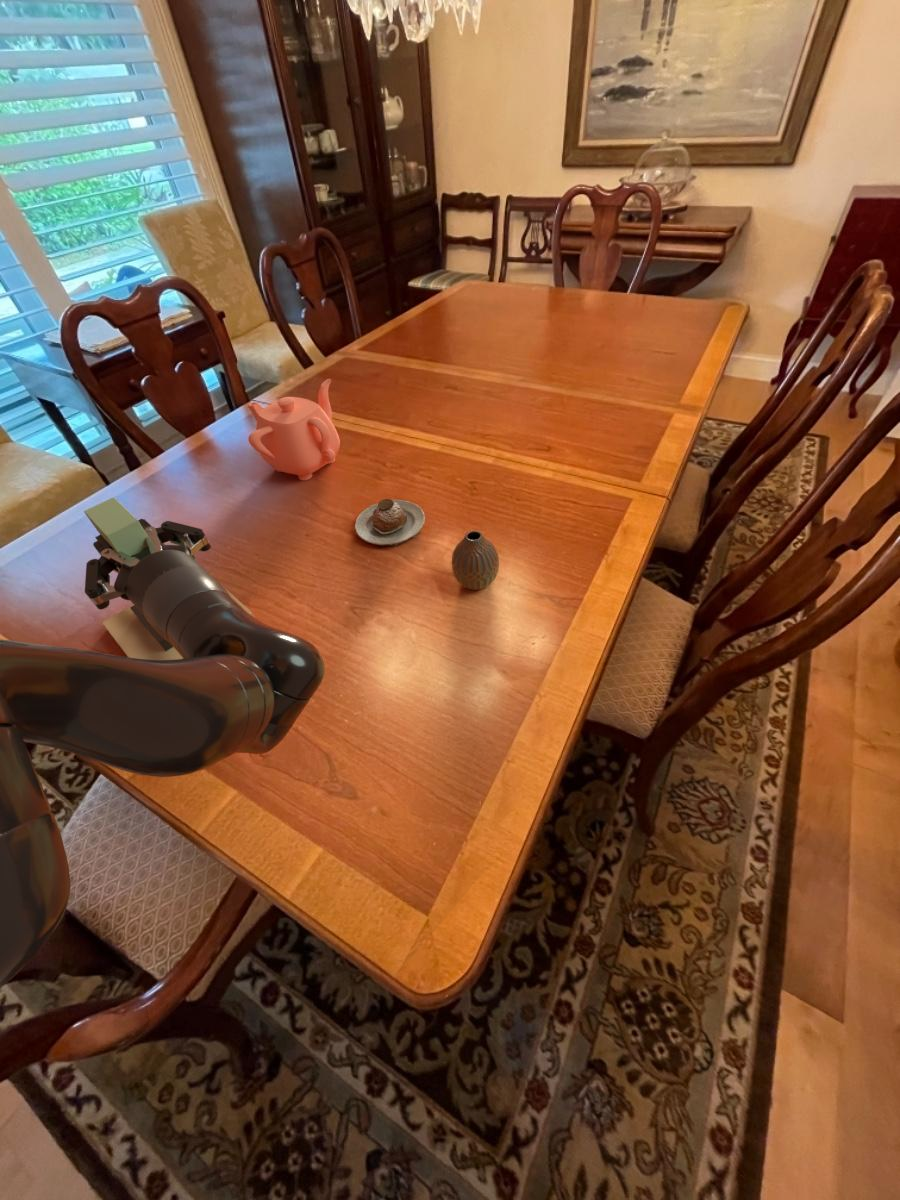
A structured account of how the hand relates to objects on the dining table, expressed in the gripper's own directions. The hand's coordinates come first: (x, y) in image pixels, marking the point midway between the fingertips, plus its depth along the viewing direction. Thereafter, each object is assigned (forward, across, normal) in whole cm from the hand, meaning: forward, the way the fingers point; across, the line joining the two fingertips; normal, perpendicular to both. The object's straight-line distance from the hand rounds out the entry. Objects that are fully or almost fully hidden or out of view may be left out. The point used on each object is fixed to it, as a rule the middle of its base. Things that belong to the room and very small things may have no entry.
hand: (119, 533), depth 64 cm
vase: (-24, -35, +19) cm, 47 cm away
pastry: (-4, -36, +19) cm, 41 cm away
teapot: (+26, -39, +19) cm, 50 cm away
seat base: (+3, 0, +19) cm, 19 cm away
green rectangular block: (-3, 0, +7) cm, 8 cm away
